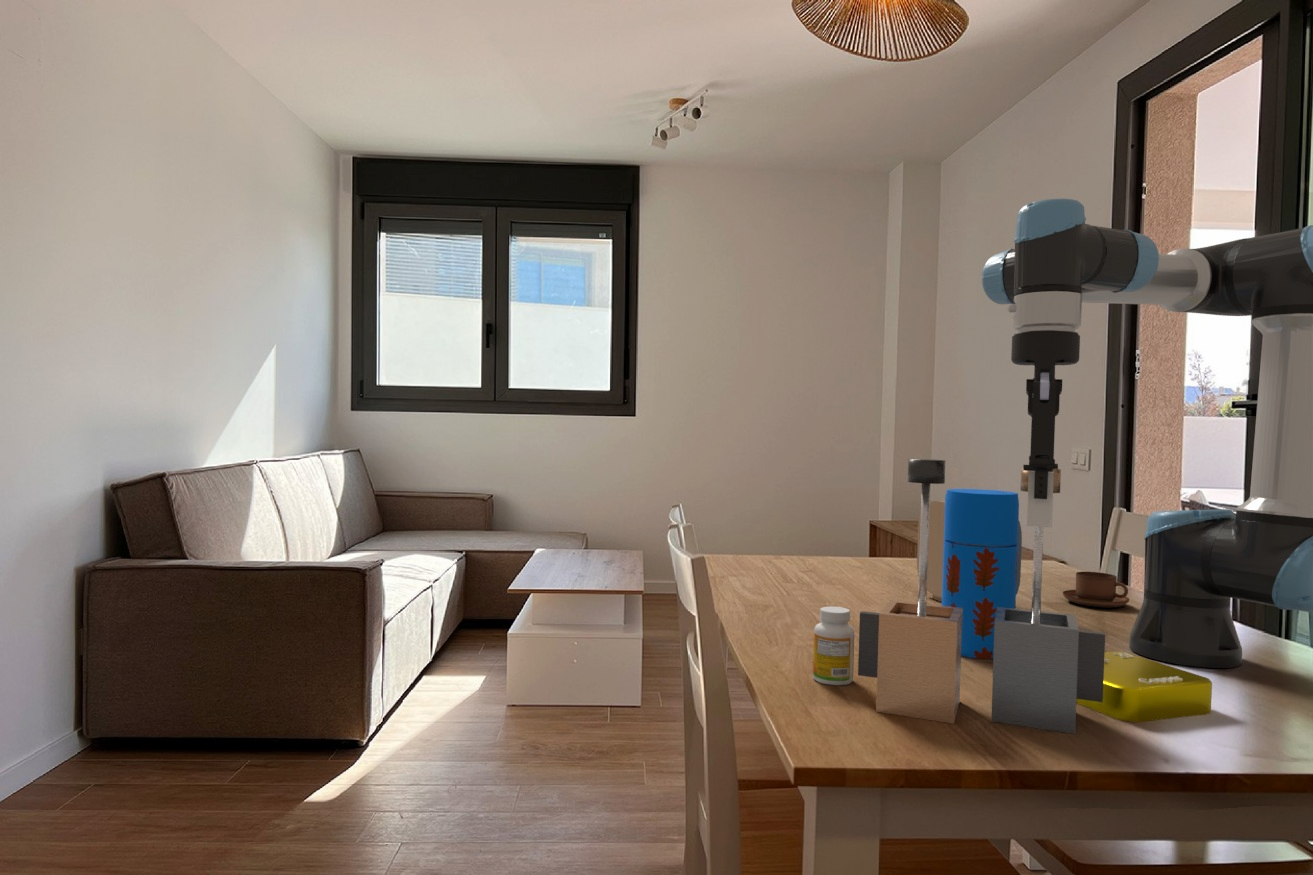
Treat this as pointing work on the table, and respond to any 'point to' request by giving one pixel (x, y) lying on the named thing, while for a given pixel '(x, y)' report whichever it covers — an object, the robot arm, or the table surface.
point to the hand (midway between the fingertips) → (1039, 523)
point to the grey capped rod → (925, 517)
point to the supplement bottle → (833, 647)
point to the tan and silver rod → (1038, 549)
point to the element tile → (1149, 690)
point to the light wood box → (913, 659)
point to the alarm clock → (937, 547)
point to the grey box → (1044, 669)
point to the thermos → (980, 562)
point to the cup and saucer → (1097, 590)
